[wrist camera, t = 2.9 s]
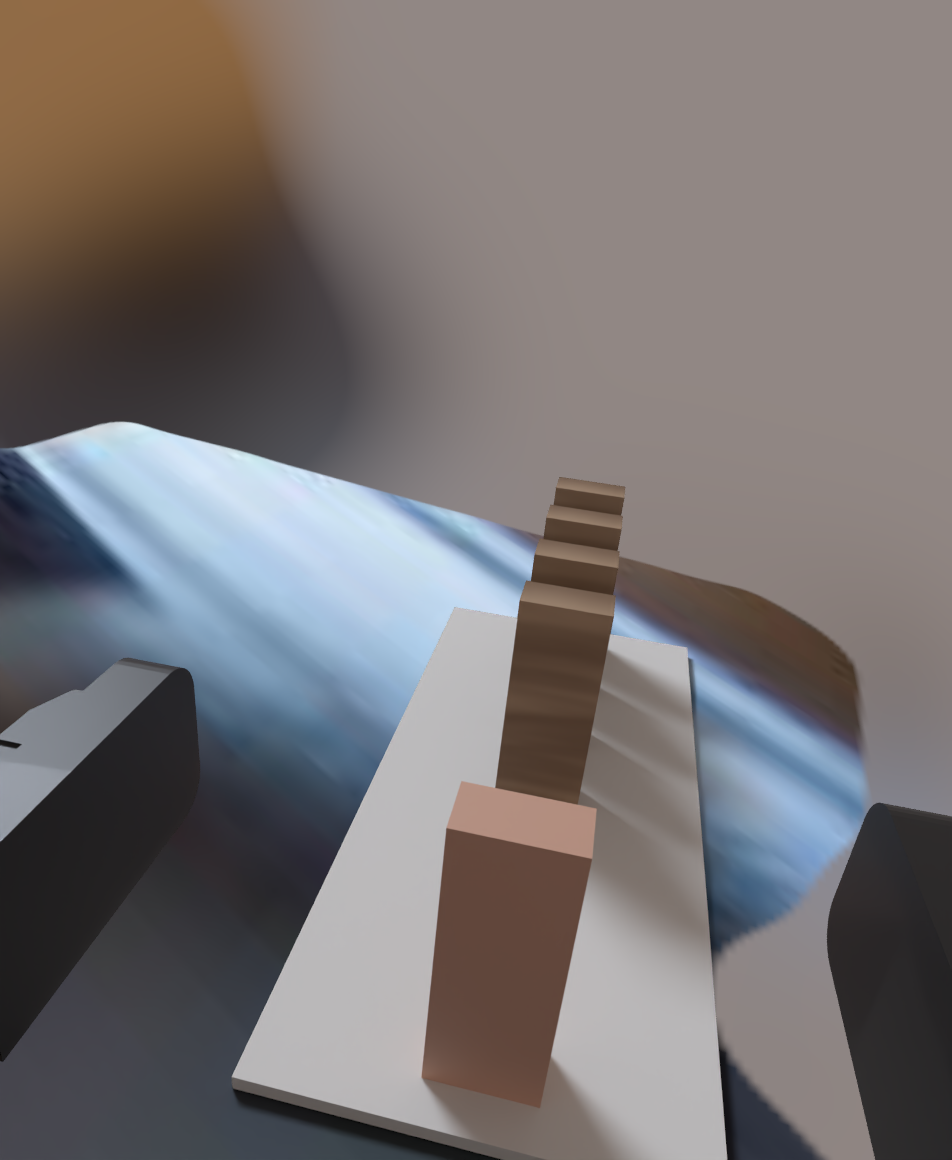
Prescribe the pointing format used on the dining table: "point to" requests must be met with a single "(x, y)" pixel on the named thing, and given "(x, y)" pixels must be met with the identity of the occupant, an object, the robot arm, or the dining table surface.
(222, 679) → the dining table surface
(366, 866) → the mat
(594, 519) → the domino
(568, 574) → the domino
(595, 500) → the domino
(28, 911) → the robot arm
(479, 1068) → the loose domino
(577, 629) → the domino
